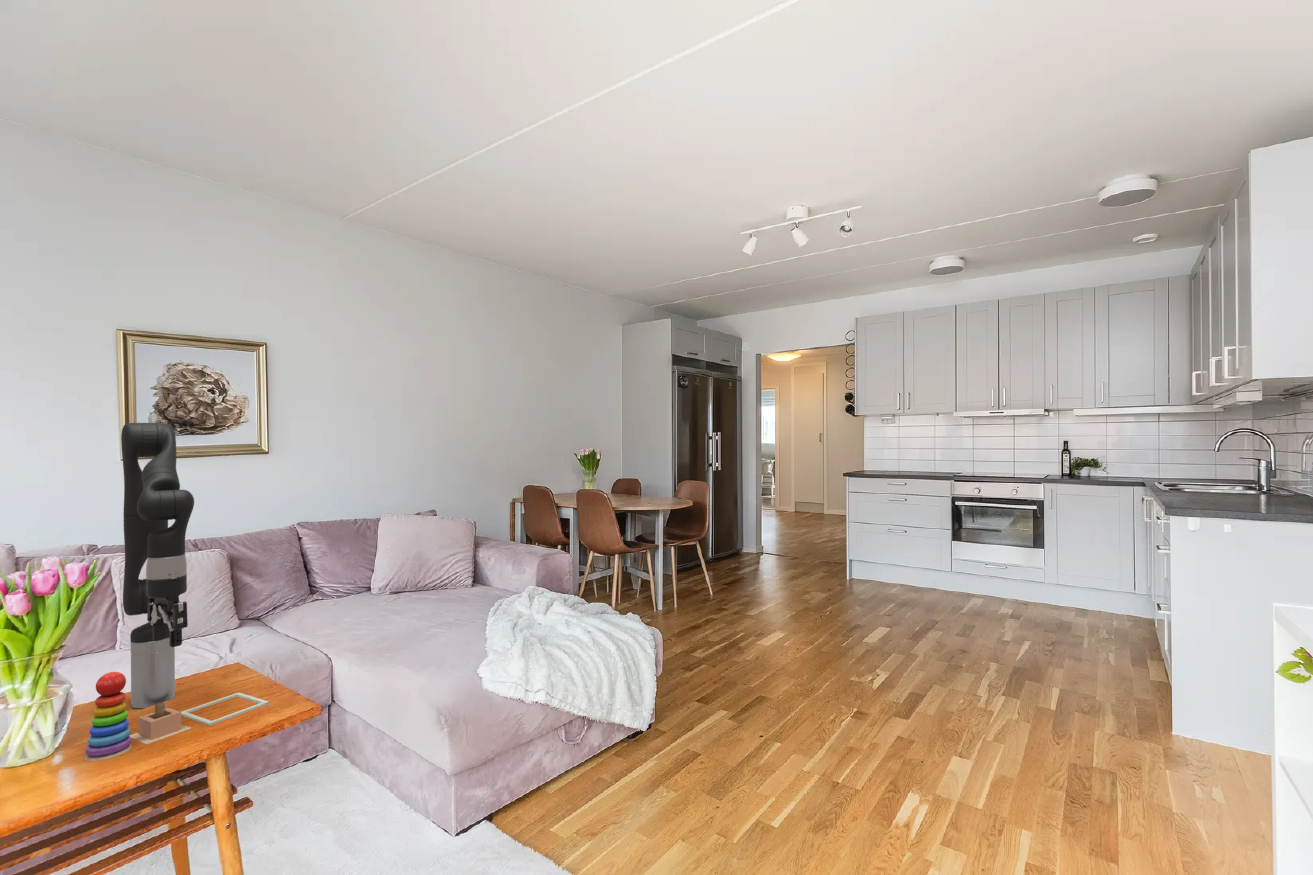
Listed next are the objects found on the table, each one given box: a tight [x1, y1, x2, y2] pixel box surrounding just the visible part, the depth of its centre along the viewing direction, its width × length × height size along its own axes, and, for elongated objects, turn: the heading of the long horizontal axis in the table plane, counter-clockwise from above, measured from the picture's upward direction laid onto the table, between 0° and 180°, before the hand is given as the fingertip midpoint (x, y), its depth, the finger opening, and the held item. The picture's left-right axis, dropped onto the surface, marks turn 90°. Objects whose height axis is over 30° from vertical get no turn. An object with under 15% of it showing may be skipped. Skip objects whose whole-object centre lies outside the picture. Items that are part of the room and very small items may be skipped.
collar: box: [137, 707, 182, 740], centre depth 146 cm, size 6×7×4 cm
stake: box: [129, 702, 192, 745], centre depth 146 cm, size 9×9×8 cm
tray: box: [180, 692, 270, 726], centre depth 158 cm, size 14×14×2 cm
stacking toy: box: [84, 671, 132, 762], centre depth 136 cm, size 8×8×19 cm
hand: (167, 643), depth 146 cm, fingers open, 8 cm apart
